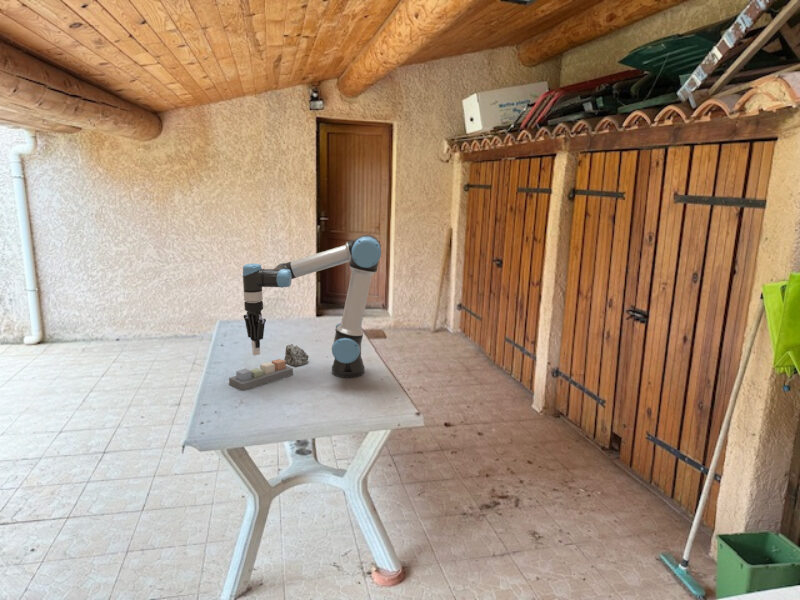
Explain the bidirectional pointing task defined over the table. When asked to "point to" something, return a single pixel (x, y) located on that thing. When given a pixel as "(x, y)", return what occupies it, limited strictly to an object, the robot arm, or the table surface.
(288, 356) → the rock
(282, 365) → the key terracotta
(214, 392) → the table surface
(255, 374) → the key sage
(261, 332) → the robot arm
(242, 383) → the grey socket tray
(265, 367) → the key cream
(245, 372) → the key slate
